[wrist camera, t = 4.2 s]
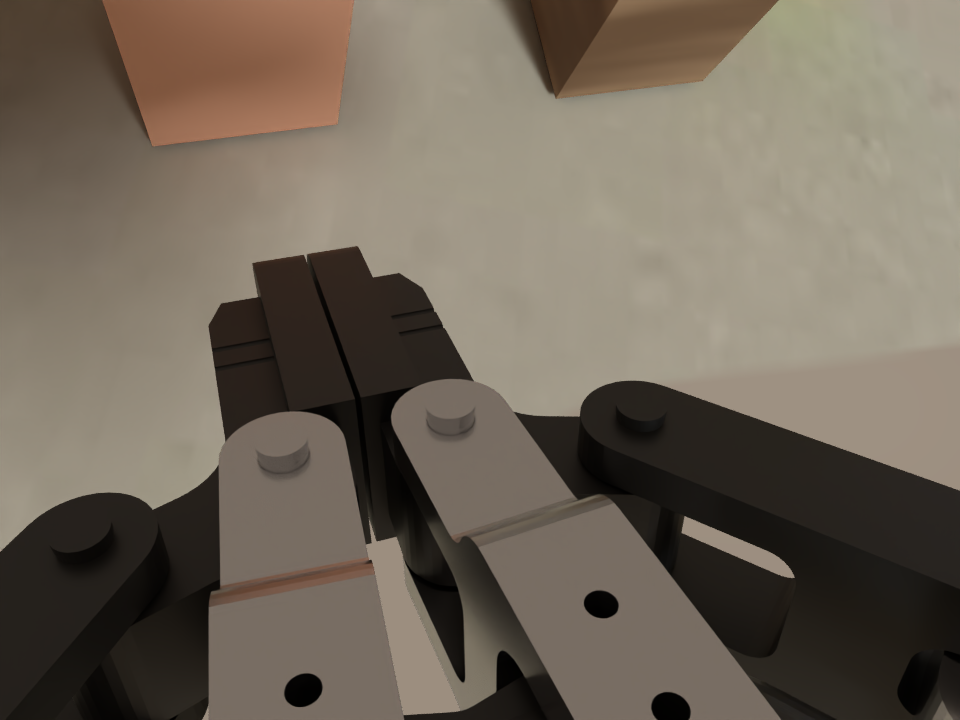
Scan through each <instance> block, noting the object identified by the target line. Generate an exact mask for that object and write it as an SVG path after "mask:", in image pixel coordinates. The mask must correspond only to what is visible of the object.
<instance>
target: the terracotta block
mask: <svg viewBox="0 0 960 720" xmlns="http://www.w3.org/2000/svg"><path fill="white" fill-rule="evenodd" d="M102 1H103V4H104V7H105V10H106V13H107V16H108V19H109V21H110V24H111V27H112V30H113V33H114V36H115V39H116V42H117V45H118V48H119V50H120V53H121V56H122V59H123V62H124V65H125V68H126V71H127V74H128V77H129V80H130V82H131V85H132V88H133V91H134V94H135V97H136V100H137V103H138V106H139V109H140V111H141V114H142V117H143V120H144V123H145V126H146V129H147V132H148V135H149V138H150V141H151V143H152V146H160V145H168V144H177V143H185V142H193V141H202V140H210V139H218V138H227V137H235V136H243V135H252V134H260V133H268V132H277V131H285V130H293V129H302V128H310V127H318V126H327V125H335V124H337V123H338V116H339V108H340V101H341V93H342V86H343V79H344V71H345V64H346V56H347V49H348V41H349V34H350V27H351V19H352V12H353V4H354V0H102Z"/></svg>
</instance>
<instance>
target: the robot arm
mask: <svg viewBox="0 0 960 720" xmlns="http://www.w3.org/2000/svg"><path fill="white" fill-rule="evenodd" d="M252 264H253V271H254V277H255V283H256V288H257V294H258V297H257V298H251V299H245V300H239V301H233V302H228V303H222V304H221V305H220V307H219V308H218V310H217V312H216V314H215V315H214V317H213V319H212V321H211V322H210V324H209V333H210V339H211V346H212V352H213V360H214V366H215V371H216V372H215V373H216V380H217V387H218V393H219V400H220V407H221V414H222V420H223V427H224V434H225V444H224V445H223V447H222V449H221V452H220V455H219V465H218V467H217V468H216V469H215V471H214V472H213V473H212V474H211V475H210V476H209V477H208V478H207V479H206V480H205V481H204V482H203V483H201V484H200V485H199V486H198V487H196V488H195V489H193V490H192V491H190V492H189V493H187V494H185V495H183V496H181V497H179V498H177V499H175V500H173V501H171V502H169V503H166V504H164V505H162V506H160V507H158V508H156V509H154V510H152V508H151V507H150V506H149V505H148V504H147V503H145V502H144V501H142V500H140V499H139V498H136V497H134V496H131V495H127V494H122V493H96V494H91V495H85V496H81V497H78V498H75V499H71V500H69V501H66V502H64V503H62V504H59V505H57V506H55V507H54V508H52V509H50V510H48V511H46V512H45V513H43V514H42V515H40V516H39V517H38V518H36V519H35V520H34V521H33V522H32V523H30V524H29V525H28V526H27V527H26V528H25V529H24V530H23V531H22V532H21V533H20V534H19V535H18V536H17V537H15V538H14V539H13V540H12V541H11V542H10V543H9V544H8V545H7V546H6V547H5V548H4V549H3V550H2V551H1V552H0V720H202V719H203V717H204V715H205V713H206V710H207V707H208V704H209V720H960V491H959V490H956V489H953V488H951V487H948V486H945V485H942V484H939V483H936V482H934V481H931V480H928V479H925V478H922V477H919V476H917V475H914V474H911V473H908V472H905V471H903V470H900V469H897V468H894V467H891V466H888V465H886V464H883V463H880V462H877V461H874V460H871V459H869V458H866V457H863V456H860V455H857V454H855V453H852V452H849V451H846V450H843V449H840V448H837V447H835V446H832V445H829V444H826V443H823V442H821V441H818V440H815V439H812V438H809V437H806V436H803V435H801V434H798V433H795V432H792V431H790V430H787V429H784V428H781V427H778V426H775V425H772V424H770V423H767V422H764V421H761V420H758V419H756V418H753V417H750V416H747V415H744V414H741V413H739V412H736V411H733V410H730V409H727V408H725V407H721V406H719V405H716V404H713V403H710V402H708V401H705V400H702V399H699V398H696V397H694V396H691V395H688V394H685V393H682V392H679V391H676V390H673V389H671V388H668V387H665V386H662V385H659V384H655V383H650V382H645V381H621V382H615V383H611V384H607V385H604V386H602V387H599V388H598V389H596V390H594V391H593V392H592V393H590V394H589V395H588V396H587V397H586V399H585V400H584V401H583V403H582V406H581V411H580V417H564V416H532V415H526V414H520V413H517V412H513V411H512V409H511V408H510V406H509V405H508V404H507V402H506V401H505V400H504V398H503V397H502V396H501V395H500V394H499V393H497V392H496V391H495V390H493V389H491V388H490V387H488V386H486V385H483V384H480V383H478V382H474V380H473V379H472V377H471V375H470V373H469V371H468V370H467V368H466V366H465V364H464V362H463V360H462V359H461V357H460V355H459V353H458V351H457V350H456V348H455V346H454V344H453V342H452V341H451V339H450V337H449V335H448V333H447V331H446V330H445V328H443V325H442V322H441V321H440V319H439V317H438V315H437V313H436V312H434V308H433V306H432V304H431V302H430V301H429V299H428V297H427V295H426V293H425V291H424V290H423V288H422V287H420V286H418V285H417V284H415V283H414V282H412V281H411V280H409V279H408V278H406V277H404V276H403V275H401V274H400V273H397V274H391V275H386V276H380V277H374V278H373V277H372V275H371V273H370V271H369V268H368V266H367V264H366V262H365V260H364V258H363V256H362V253H361V251H360V249H359V248H358V246H355V247H349V248H343V249H336V250H330V251H324V252H318V253H311V254H307V262H306V259H305V257H304V255H300V256H294V257H287V258H281V259H275V260H268V261H262V262H256V263H252ZM684 516H686V517H688V518H691V519H693V520H696V521H698V522H700V523H703V524H705V525H707V526H710V527H712V528H715V529H717V530H719V531H722V532H724V533H726V534H729V535H731V536H733V537H736V538H738V539H741V540H743V541H745V542H748V543H750V544H753V545H755V546H757V547H760V548H762V549H764V550H767V551H769V552H771V553H773V554H775V555H776V556H778V557H779V558H780V559H782V560H783V561H784V562H785V563H786V564H787V565H788V566H789V568H790V569H791V570H792V572H793V574H794V577H795V578H787V577H783V576H780V575H777V574H775V573H773V572H770V571H768V570H766V569H763V568H761V567H759V566H756V565H754V564H752V563H749V562H747V561H745V560H743V559H740V558H738V557H735V556H733V555H731V554H729V553H726V552H724V551H722V550H719V549H717V548H715V547H712V546H710V545H708V544H706V543H703V542H701V541H699V540H696V539H694V538H692V537H689V536H687V535H685V534H682V533H681V532H682V527H683V521H684ZM369 519H370V522H371V525H372V528H373V532H374V535H375V538H376V541H381V540H385V539H389V538H393V537H397V539H398V541H399V545H400V547H401V551H402V553H403V562H404V574H405V583H406V587H407V590H408V592H409V594H410V597H411V599H412V601H413V603H414V606H415V608H416V610H417V612H418V615H419V617H420V619H421V621H422V624H423V626H424V628H425V630H426V632H427V635H428V637H429V639H430V642H431V644H432V646H433V648H434V651H435V653H436V655H437V657H438V660H439V662H440V664H441V666H442V669H443V671H444V673H445V675H446V677H447V680H448V682H449V684H450V686H451V689H452V691H453V693H454V696H455V698H456V700H457V703H458V705H459V708H460V711H458V712H450V713H433V714H417V715H403V711H402V706H401V701H400V696H399V692H398V686H397V681H396V676H395V671H394V666H393V661H392V656H391V651H390V647H389V641H388V636H387V631H386V626H385V621H384V616H383V611H382V606H381V602H380V596H379V591H378V586H377V582H376V576H375V572H374V567H373V563H372V560H369V558H368V553H367V548H366V544H370V543H371V534H370V526H369Z"/></svg>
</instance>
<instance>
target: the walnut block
mask: <svg viewBox="0 0 960 720" xmlns="http://www.w3.org/2000/svg"><path fill="white" fill-rule="evenodd" d="M777 1H778V0H531V4H532V8H533V12H534V16H535V20H536V23H537V27H538V31H539V35H540V39H541V43H542V47H543V51H544V55H545V59H546V62H547V66H548V70H549V74H550V78H551V82H552V86H553V90H554V94H555V98H556V99H557V98H566V97H574V96H582V95H591V94H599V93H607V92H616V91H624V90H632V89H641V88H649V87H657V86H666V85H674V84H682V83H691V82H699V81H703V80H704V79H705V78H706V77H707V76H708V75H709V74H710V72H711V71H712V70H713V69H714V68H715V67H716V66H717V65H718V64H719V63H720V62H721V61H722V60H723V59H724V58H725V57H726V55H727V54H728V53H729V52H730V51H731V50H732V49H733V48H734V47H735V46H736V45H737V44H738V43H739V42H740V41H741V40H742V39H743V37H744V36H745V35H746V34H747V33H748V32H749V31H750V30H751V29H752V28H753V27H754V26H755V25H756V24H757V23H758V22H759V20H760V19H761V18H762V17H763V16H764V15H765V14H766V13H767V12H768V11H769V10H770V9H771V8H772V7H773V6H774V5H775V4H776V2H777Z"/></svg>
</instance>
